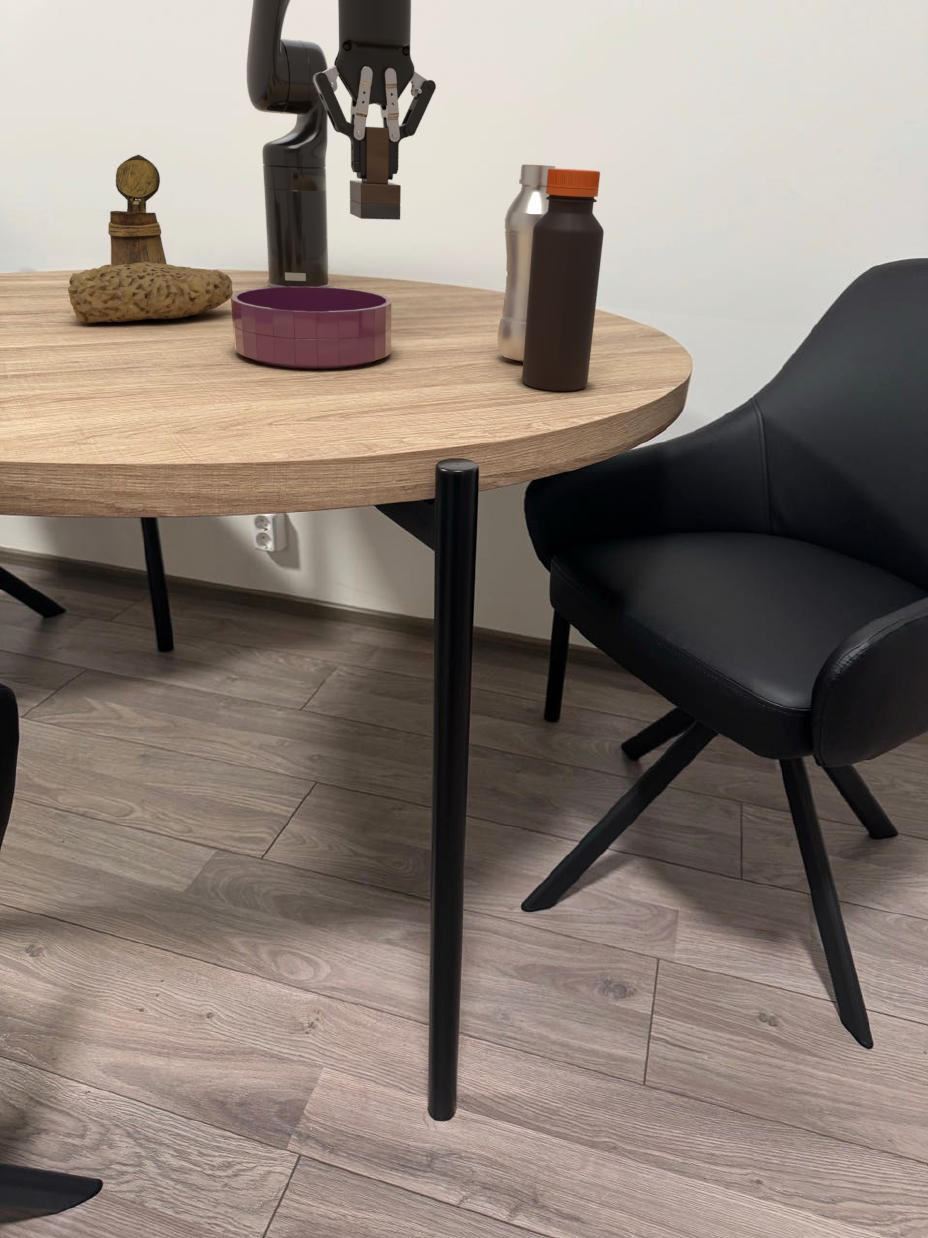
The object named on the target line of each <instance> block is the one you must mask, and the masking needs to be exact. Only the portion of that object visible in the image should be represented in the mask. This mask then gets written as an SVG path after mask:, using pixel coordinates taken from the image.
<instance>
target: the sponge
mask: <svg viewBox="0 0 928 1238" xmlns="http://www.w3.org/2000/svg"><path fill="white" fill-rule="evenodd" d="M68 282H69V285H70V286H69V287H68V288H67V292H68V296H69V302H70V305H71V306H72V309H73V311H74V314H75V316H76V318H77V319H78V320H79V321H80V323H83V324H96V323H105V322H107V323H112V322H114V323H115V322H119V323H120V322H131V321H141V320H147V319H148V320H149V319H151V320H152V319H153V320H175V319H183V318H186V317H190V316H195V315H199V314H203V313H206V312H208V311H211V310H214V309H216V308H218V307H220V306H222V305H223V304H225V303H226V302H228V301H229V300H231V296H232V295H233V294H234V291H233V280H232V278H231V277H230V276H229V275H228V274H227V273H226V274H225V272H223V271H221V270H218V269H206V268H198V267H197V268H196V267H191V266H180V265H179V266H177V265H173V264H168V263H167V264H158V263H151V262H142V263H133V264H129V265H126V264H125V265H118V266H113V265H111V263H110V264H104V265H101V266H100V267H98V268H95V267H93V268H90V269H85V270H83V271H81V272H78V273H77V272H72V275H71V276H70V278H69V280H68Z"/></svg>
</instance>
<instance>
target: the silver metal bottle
mask: <svg viewBox="0 0 928 1238" xmlns="http://www.w3.org/2000/svg"><path fill="white" fill-rule="evenodd" d="M550 168H552V169H556V166H555V165H544V164H521V166H520V177H519V180H518V181H519V182H518V184H520V185H521V187H520V191H519V192H518V194H517V195H516V197H515V198H514V199H513V201H511V204H510V205H509V207H508V209H507V211H506V214H505V217H504V230H505V231H504V235H505V236H504V238H505V252H506V253H505V254H506V269H505V270H506V276H505V279H506V280H505V291H504V299H503V305H502V316H500V320H499V324H498V330H497V334H496V335H497V347H498V350H499V352H500V354H501V356H502V357H504V358H506V359H510V360H514V361H516V362H517V361H518V362H521V363H523V358H524V345H525V332H526V319H527V305H528V292H529V279H530V266H531V252H532V239H533V228H534V226H535V224H536V223H537V222H538V221H539V220H540V219H541V218H542V217H543V215H544V214H545V213H546V212H547V211H548V203H549V200H547V199H546V197H548V196H549V194H546V186H547V174H548V169H550Z"/></svg>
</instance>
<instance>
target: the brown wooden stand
mask: <svg viewBox="0 0 928 1238" xmlns="http://www.w3.org/2000/svg"><path fill="white" fill-rule="evenodd" d="M116 168H117V169H116V172H115V187H116V189H117V192H118V193H119V194H120V195H121V196H122V197H124V198H125V200H126V201H127V202H126V204H127V205H126V206H127V207H126V211H125V210H124V211H122V210H111V211H110V212H109V222H108V230H107V231H108V232H107V234H108V235H109V236H110V237H109V238H110V265H113V266H118V265H125V264H126V265H129V264H133V263H142V262H151V263H158V264H168V263H167V259H166V255H165V249H164V246H163V240H162V236H161V235H162V229H161V225H160V222H159V221H158V218H157V214H156V212H147V201H149V200H150V199H151V198H153V196H154V195H156V193H157V192H158V191H159V188H160V184H161V176H160V172H159V170H158V168H157V166H156V165H155V164H154V163H153V162H151V161H150V160H149V159H147V158H146V157H144V156H142V155H141V154H136V155H134V156H131V157H129V158H127V159H126V160H124V161H123V162H121V163H120V165H118V167H116Z"/></svg>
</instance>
